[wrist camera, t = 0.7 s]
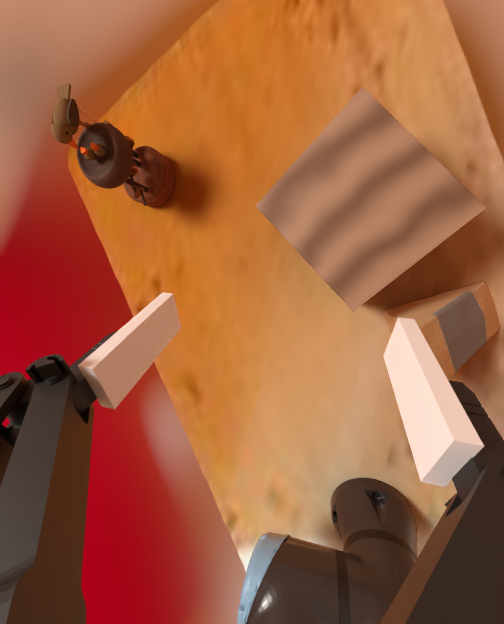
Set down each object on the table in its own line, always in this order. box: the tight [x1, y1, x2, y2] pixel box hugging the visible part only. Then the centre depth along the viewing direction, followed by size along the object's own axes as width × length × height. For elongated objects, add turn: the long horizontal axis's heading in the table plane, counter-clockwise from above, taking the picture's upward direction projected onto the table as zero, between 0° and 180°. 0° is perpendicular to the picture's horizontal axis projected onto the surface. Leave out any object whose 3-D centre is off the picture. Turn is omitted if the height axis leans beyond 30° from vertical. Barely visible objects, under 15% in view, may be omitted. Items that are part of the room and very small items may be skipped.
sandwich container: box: [384, 281, 500, 380], centre depth 33 cm, size 9×15×15 cm, turn 111°
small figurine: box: [51, 83, 175, 207], centre depth 41 cm, size 15×11×20 cm
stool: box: [256, 87, 486, 311], centre depth 36 cm, size 20×18×12 cm
